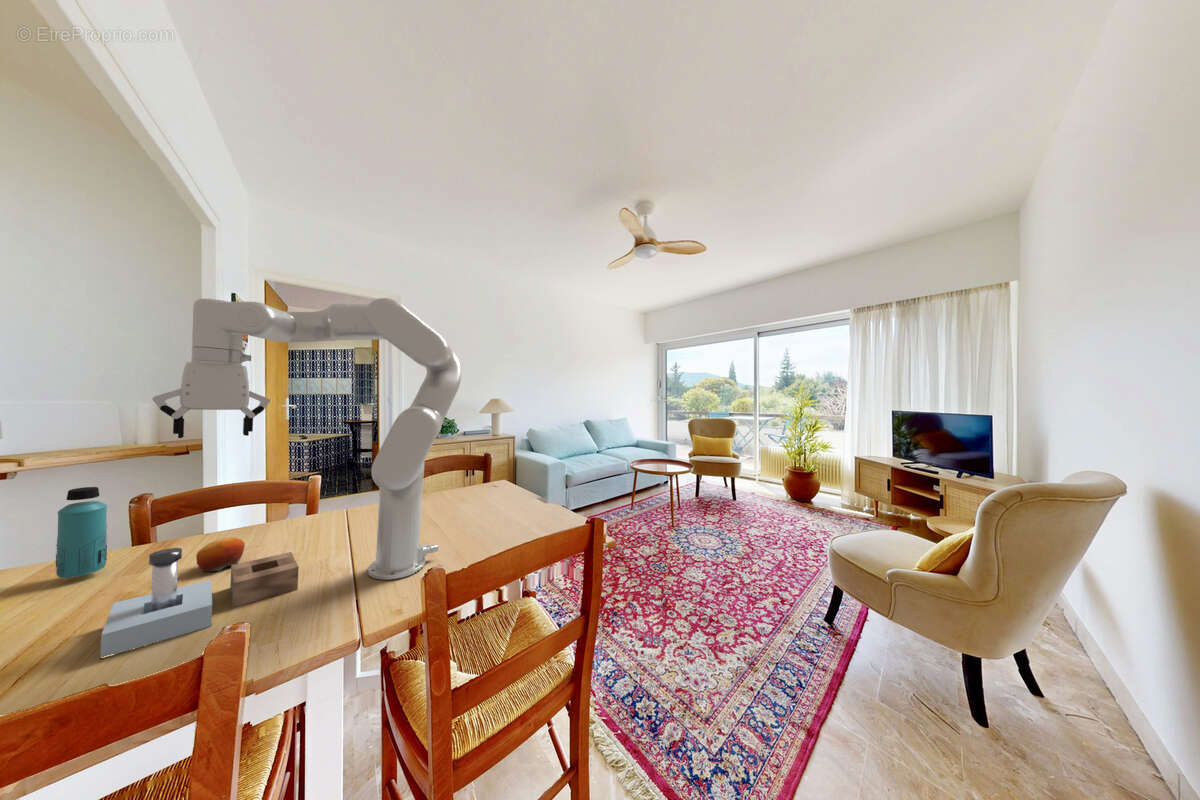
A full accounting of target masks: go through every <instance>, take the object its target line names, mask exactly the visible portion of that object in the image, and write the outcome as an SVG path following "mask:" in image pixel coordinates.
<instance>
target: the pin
mask: <svg viewBox="0 0 1200 800" xmlns="http://www.w3.org/2000/svg"><path fill="white" fill-rule="evenodd" d="M182 552H183V548H181V547H171V548H165V549H161V550H158V551H154V552H152V553H150V554H149V557H148V565H150V566H152V567H151V570H152V573H151V591H150V592H151V593H150V594H151V612H154V611H158V610H162V609H165V608H169V607H173V606H177V588H178V580H179V579H178V576H179V575H178V573H179V572H178V571H179V560H181V559H182V556H183V553H182Z"/></svg>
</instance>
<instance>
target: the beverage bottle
mask: <svg viewBox="0 0 1200 800" xmlns="http://www.w3.org/2000/svg"><path fill="white" fill-rule="evenodd" d="M98 497H100V491H99V487H97V486H86V487H77V488H76V487H75V488H73V489H69V490H68V491H67V495H66V498H65V499H66V501H79V502H74V503H70V504H67V505H65V506H64V507H61V509H59V510H58V511H57V537H56V547H55V548H56V549H55V550H56V553H55V562H54V563H55V568H56V569H55V570H54V571H55V573H54V574H56V576H57V577H58V578H61V579H67V578H74V577H76V578H77V577H81V576H86V575H89V574H93V573H95V572H99V571H101V570H102V569H104V568H105V566H106V564H107V563H108V558H107V556H108V553H107V552H108V538H107V536H108V534H107V530H108V522H107V513H108V511H107V509H108V505H107V504H106V503H104V502H101V501H99V500H88V499H95V498H98ZM80 500H82V501H81V502H80ZM83 500H87V501H83Z"/></svg>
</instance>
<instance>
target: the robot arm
mask: <svg viewBox="0 0 1200 800" xmlns="http://www.w3.org/2000/svg"><path fill="white" fill-rule="evenodd" d="M245 335H246V336H250V337H253V338H258V339H264V340H268V341H272V342H277V343H312V342H313V343H314V342H316V343H318V342H330V341H331V342H335V341H348V340H349V341H354V340H355V341H356V340H357V341H358V340H361V341H362V340H363V341H364V340H370V341H371V340H377V341H378V340H379V341H381V340H386V341H387V342H389V343H390V344H391V345H392V346H394V347H395V348H396V349H398V350H399V351H401V352H402V353H403V354H405V356H407V357H409V358H410V359H411V360H412V361H414V362H415V363H417V364H418V365H420V366H421V367H424V368H425V369H426V373H425V374H426V375H425V377H424V380H423V381H422V383H421V385H420V386H419V389H418V392H417V393H416V395H415V397H414V399H413V401H412V403H411V404H410V406H409V407H408V408H406V409H404V410H403V411H402V412H400V414H398V416H397V417H396V418H395V420H394V422H393V423H392V425H391V427H390V429H389V431H388V433H387V435H386V437H385V439H384V441H383V443H382V445H381V446H380V449H379V451H378V452H377V454H376V457H375V458H374V459H373V462H372V465H371V477H372V481H373V482H374V484H375V485H376V486H378V487H379V498H378V510H377V511H378V512H377V513H378V514H377V530H376V531H377V532H376V551H375V552H376V553H375V554H376V555H375V556H376V557H375V560H374V561H373V562H371V563H370V565H369V566H368V567H367V568H368V569H367V573H368V576H370V578H373V579H376V580H382V581H383V580H385V581H386V580H387V581H388V580H389V581H390V580H398V579H402V578H405V577H408V576H411V575H413V574H415V572H416V573H417V571H418V570H419V571H421V570H422V569H421V567H422V566H423V565H424V563H425V564H426V557H427V555H428V554H434V553H437V552H438V551H439V545H438V544H436V543H435V544H432V545H430V543H425V544H424V543H423V544H422V545H421V544H420V541H421V540H420V538H421V521H422V520H421V519H422V518H421V517H422V499H423V487H424V486H423V485H424V476H425V475H424V474H425V465H426V464H425V460H426V458H427V457H428V455H429V453H430V451H431V449H432V447H433V444H434V443H435V441H436V439H437V437H438V436H439V434H440V432H441V430H442V425H443V423H444V421H445V418H446V416H447V415H448V412H449V410H450V408H451V406H452V404H453V402H454V399H455V397H456V395H457V392H458V391H459V388H460V384H461V380H462V367H461V363H460V360H459V358H458V357H457V355H456V353H455V351H454V350H453V349H452V348H451V346H450V345H449V343H448V342H447V340H446V339H445V338H444V337H443V336H442V335H441V334H440V333H438V332H437V331H436V330H435V329H433V328H432V327H430V326H429V325H428V324H427V323H426V322H425V321H423V320H422V319H420V318H419V317H418V316H417V315H415V313H413V312H412V311H410V310H409V309H408V308H407V307H406V306H405V305H403V304H402V303H401V302H399V301H398V300H396V299H392V298H389V297H380V298H376V299H373V300H372V301H370V302H369V303H332V304H330V305H328V307H327V308H325V309H322V310H318V311H285V310H284V311H283V310H281V309H278V308H275V307H273V306H271V305H268V304H265V303H262V302H259V301H227V300H221V299H216V298H198V299H197V300H195V301H194V302H193V309H192V334H191V360H190V362H189V361H186V363H185V365H184V367H183V371H182V376H181V383H180V384H181V385H180V388H178V389H175V390H171V391H168V392H164V393H161V394H157V395H155V396H152V398H151V399H152V401H153V402H154V403H155V405H156V406H157V408H159V410H160V411H161V412H163V413H164V414H166V415H167V416H169V417H170V418H172V419H173V423H172V424H173V426H172V432H173V433H172V435H177V439H182V438H184V435H185V434H184V433H185V432H184V431H185V418H184V415H185V414H186V413H188V412H189V411H190V410H199V411H201V410H202V411H203V410H204V411H207V410H208V411H209V410H211V411H214V410H216V411H222V410H223V411H225V410H226V411H227V410H229V411H231V410H233V411H237V410H238V411H241V412H242V413H243V414H244V415H245V416H244V417H243V419H242V422H243V423H242V424H243V425H242V435H243V436H249V432H250V433H251V432H252V433H253V431H254V430H253V429H254V418H255V417H256V416H258V415H259V414H261V413H262V412H264V411H265V409H266V408H267V406H268V405H269V403H271V399H270V398H268V397H265V396H263V395H260V394H258V393H257V392H256V393H255V392H253V391H251V390H250V383H249V381H250V380H249V376H248V375H249V374H248V368H247V366H246V365H243V363H244V362H252V355H251V354H250V355H249V354H245V353H244V351H243V346H244V345H243V344H244V336H245ZM176 397H179V401H180V402H179V403H180V405H181V406H180V407H179V408H178V409H176V410H175V409H174V408H173V407H171V406H169V405H168V403H167V402H166V400H170V399H173V398H176ZM250 398H251V399H254V400H257V401H258V402H259V403H258V405H257V406H256V407H255V408H253V409H249V405H250ZM424 566H425V565H424ZM419 571H418V572H419Z"/></svg>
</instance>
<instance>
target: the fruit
mask: <svg viewBox="0 0 1200 800" xmlns="http://www.w3.org/2000/svg"><path fill="white" fill-rule="evenodd" d="M245 544H246V543H245V541H244V540H242V539H241V538H238V537H236V536H235V537H232V536H231V537H229V536H227V537H223V538H220V539H216V540H215V541H212V542H210V543H208V544H205V545H204V546H203V547H202V548H201V549H200V550H198V551H197V553H196V565H197V566H198V568H199V569H200V570H202V571H205V572H214V571H215V572H218V571H219V572H221V571H222V570H223V569H224V568H227V567H229V566H231V565H235V564H239V563H240V560H241V559H242V556H243V554H244V550H245Z"/></svg>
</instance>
